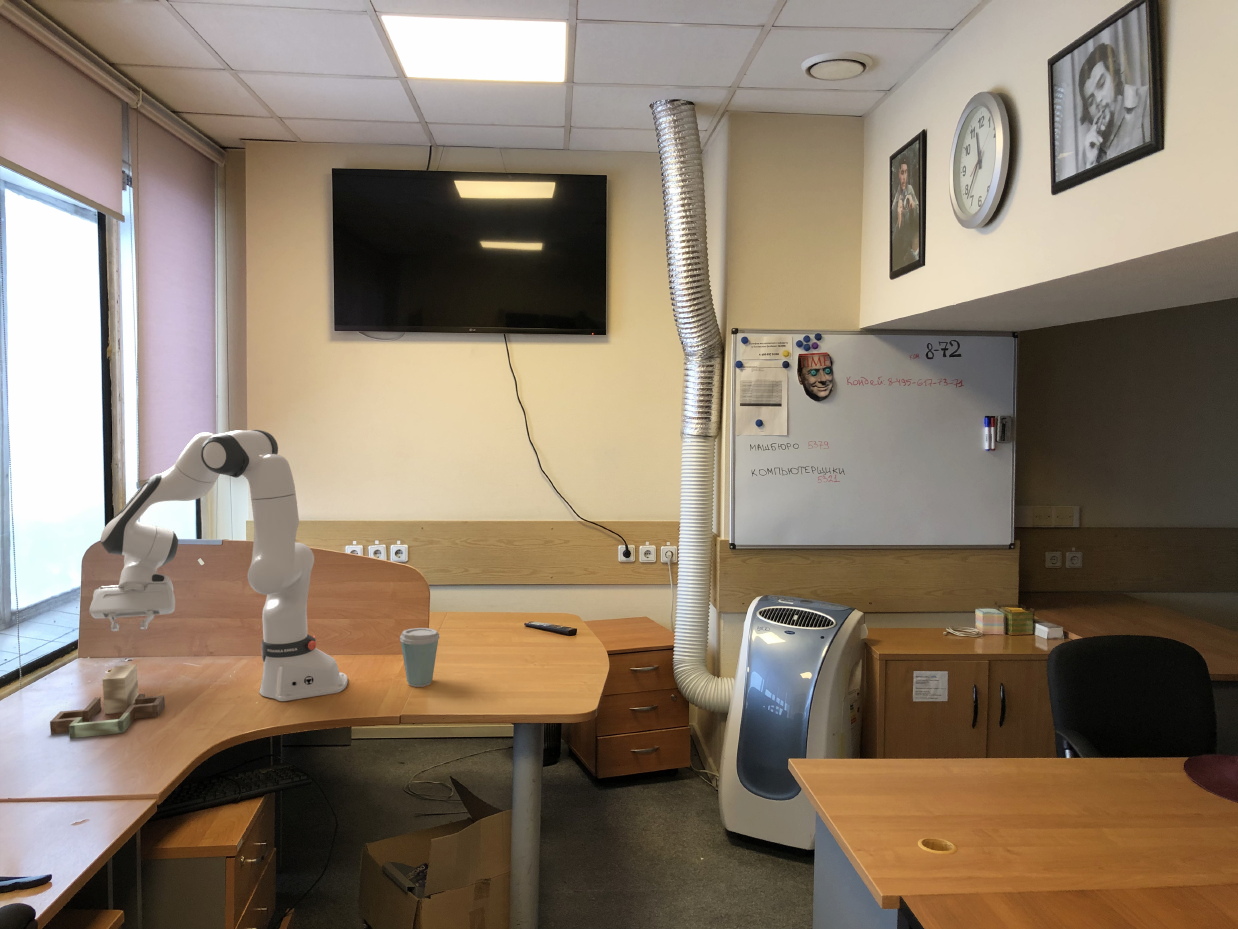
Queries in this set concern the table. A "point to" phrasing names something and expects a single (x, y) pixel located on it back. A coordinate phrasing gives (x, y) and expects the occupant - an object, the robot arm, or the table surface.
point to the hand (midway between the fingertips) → (128, 629)
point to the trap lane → (82, 727)
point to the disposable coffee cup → (419, 655)
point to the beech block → (120, 688)
